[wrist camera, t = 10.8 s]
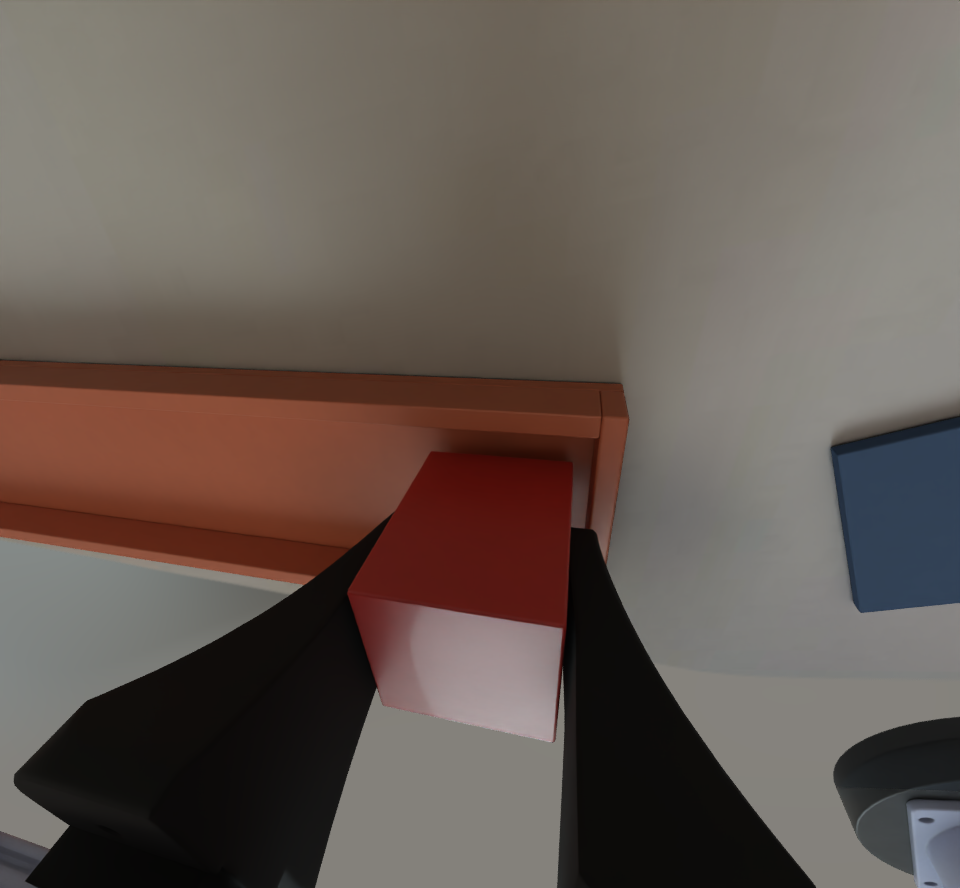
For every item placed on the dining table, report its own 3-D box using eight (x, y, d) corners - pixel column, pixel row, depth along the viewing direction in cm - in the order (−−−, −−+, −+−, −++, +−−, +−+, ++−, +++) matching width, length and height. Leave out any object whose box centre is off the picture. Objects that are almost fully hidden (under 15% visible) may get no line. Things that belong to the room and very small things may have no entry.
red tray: (622, 382, 11) (630, 418, 9) (594, 582, 15) (595, 631, 13) (-299, 348, 19) (-384, 362, 18) (-162, 480, 23) (-220, 502, 21)
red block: (573, 460, 11) (566, 627, 7) (564, 566, 13) (555, 744, 9) (430, 449, 12) (344, 592, 8) (443, 551, 14) (382, 706, 10)
